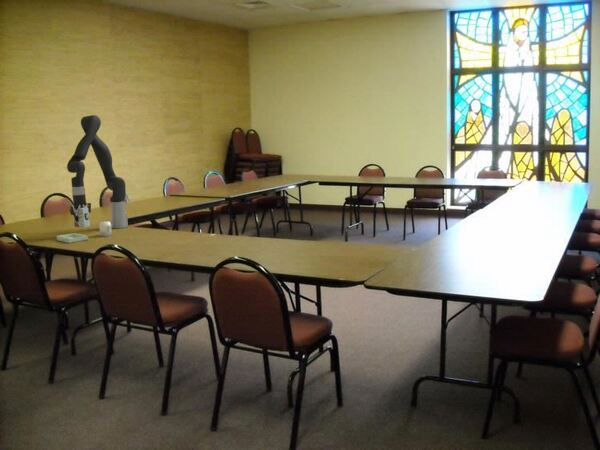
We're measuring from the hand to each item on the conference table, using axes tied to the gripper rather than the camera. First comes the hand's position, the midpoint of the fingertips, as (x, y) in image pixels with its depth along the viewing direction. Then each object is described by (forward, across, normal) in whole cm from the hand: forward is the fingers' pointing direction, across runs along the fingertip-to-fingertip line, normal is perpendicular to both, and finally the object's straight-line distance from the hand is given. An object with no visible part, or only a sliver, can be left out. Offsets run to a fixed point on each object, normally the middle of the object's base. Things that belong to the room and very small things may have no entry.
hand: (81, 220), depth 401 cm
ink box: (+4, 0, 0) cm, 4 cm away
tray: (+9, +13, +10) cm, 19 cm away
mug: (+9, -8, +14) cm, 19 cm away
